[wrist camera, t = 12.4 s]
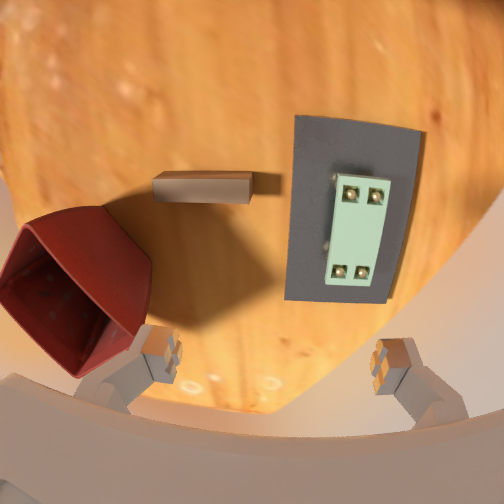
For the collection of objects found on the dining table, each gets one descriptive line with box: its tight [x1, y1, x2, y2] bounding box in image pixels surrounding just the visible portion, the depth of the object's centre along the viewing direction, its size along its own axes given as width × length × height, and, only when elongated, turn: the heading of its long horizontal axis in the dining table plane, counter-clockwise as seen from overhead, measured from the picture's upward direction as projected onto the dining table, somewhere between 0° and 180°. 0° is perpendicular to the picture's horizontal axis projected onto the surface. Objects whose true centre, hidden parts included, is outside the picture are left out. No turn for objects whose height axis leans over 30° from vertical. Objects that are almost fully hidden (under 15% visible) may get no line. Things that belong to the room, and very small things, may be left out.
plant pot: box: [0, 206, 152, 379], centre depth 39 cm, size 19×19×17 cm
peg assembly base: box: [284, 115, 421, 304], centre depth 36 cm, size 26×16×6 cm, turn 179°
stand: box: [152, 171, 253, 204], centre depth 37 cm, size 3×12×4 cm, turn 89°
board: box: [325, 173, 391, 286], centre depth 35 cm, size 14×6×1 cm, turn 179°
